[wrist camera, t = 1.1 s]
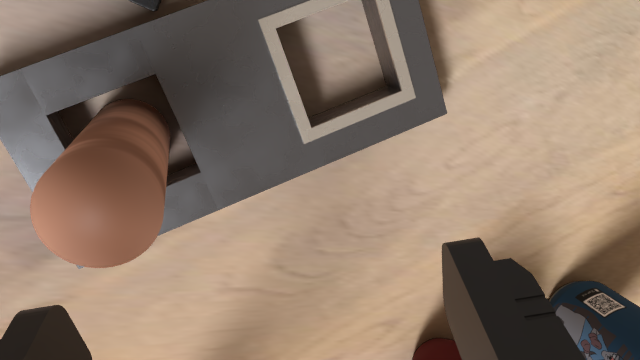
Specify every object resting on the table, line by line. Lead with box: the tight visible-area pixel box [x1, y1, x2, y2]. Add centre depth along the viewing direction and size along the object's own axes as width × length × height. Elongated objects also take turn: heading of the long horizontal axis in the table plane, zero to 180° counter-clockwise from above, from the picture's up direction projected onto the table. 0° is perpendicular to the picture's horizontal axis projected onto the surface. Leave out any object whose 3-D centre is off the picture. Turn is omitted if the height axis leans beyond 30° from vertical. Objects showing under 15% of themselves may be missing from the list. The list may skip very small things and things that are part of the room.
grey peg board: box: [0, 0, 447, 269], centre depth 33 cm, size 26×12×3 cm, turn 110°
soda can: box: [549, 281, 640, 360], centre depth 41 cm, size 7×7×12 cm
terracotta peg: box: [30, 99, 170, 268], centre depth 26 cm, size 5×5×14 cm
